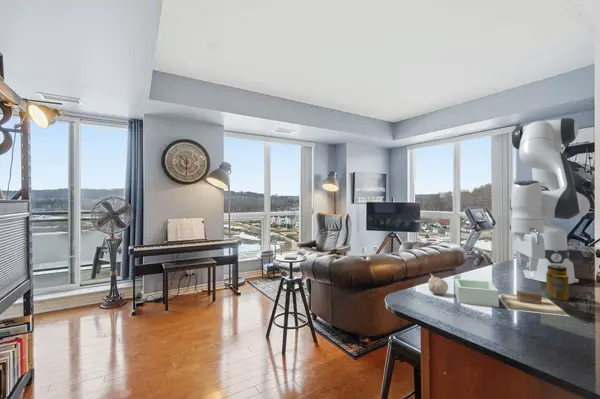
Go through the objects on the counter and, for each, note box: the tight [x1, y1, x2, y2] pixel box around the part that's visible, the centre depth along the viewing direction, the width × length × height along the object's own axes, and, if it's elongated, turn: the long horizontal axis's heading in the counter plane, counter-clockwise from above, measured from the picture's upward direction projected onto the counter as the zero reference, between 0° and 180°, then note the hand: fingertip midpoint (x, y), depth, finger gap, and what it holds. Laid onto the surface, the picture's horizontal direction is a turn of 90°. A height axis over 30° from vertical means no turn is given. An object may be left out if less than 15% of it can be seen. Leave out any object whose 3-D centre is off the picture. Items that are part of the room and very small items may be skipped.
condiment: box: [545, 265, 570, 301], centre depth 105 cm, size 7×8×12 cm
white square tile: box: [499, 294, 570, 317], centre depth 99 cm, size 16×16×1 cm
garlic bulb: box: [427, 272, 449, 295], centre depth 114 cm, size 7×6×8 cm
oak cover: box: [499, 290, 566, 315], centre depth 99 cm, size 14×14×4 cm
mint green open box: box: [454, 278, 500, 308], centre depth 105 cm, size 12×12×6 cm
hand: (527, 267), depth 99 cm, fingers open, 8 cm apart
